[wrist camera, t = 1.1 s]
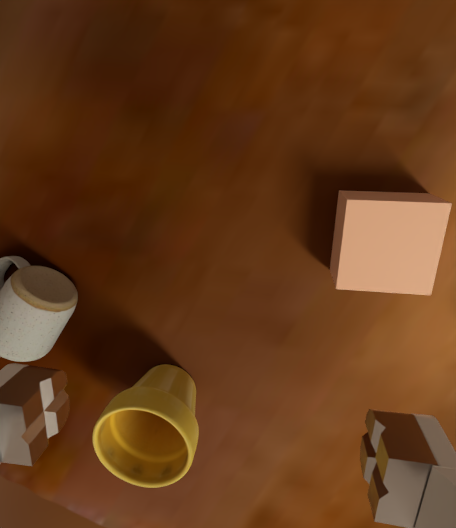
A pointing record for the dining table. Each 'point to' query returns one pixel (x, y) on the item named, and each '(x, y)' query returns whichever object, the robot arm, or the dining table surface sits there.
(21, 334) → the ceramic mug
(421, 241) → the peach block
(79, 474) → the dining table surface
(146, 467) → the plant pot
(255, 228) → the dining table surface
